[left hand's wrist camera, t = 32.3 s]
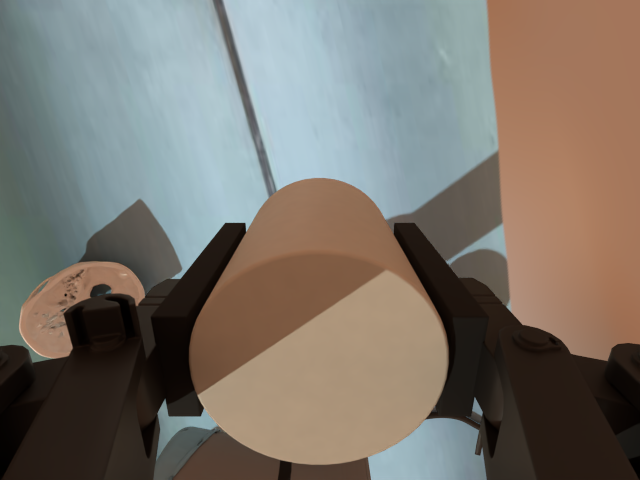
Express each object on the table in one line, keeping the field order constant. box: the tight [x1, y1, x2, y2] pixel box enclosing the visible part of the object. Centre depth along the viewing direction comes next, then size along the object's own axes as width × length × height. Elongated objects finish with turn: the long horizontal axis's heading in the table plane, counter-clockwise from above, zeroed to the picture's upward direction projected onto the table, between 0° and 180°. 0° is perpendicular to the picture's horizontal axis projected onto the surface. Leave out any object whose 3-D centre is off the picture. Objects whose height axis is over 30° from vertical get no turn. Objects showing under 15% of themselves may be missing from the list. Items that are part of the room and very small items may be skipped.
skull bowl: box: [19, 261, 145, 358], centre depth 48 cm, size 10×14×12 cm
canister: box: [189, 178, 449, 465], centre depth 11 cm, size 6×6×7 cm
